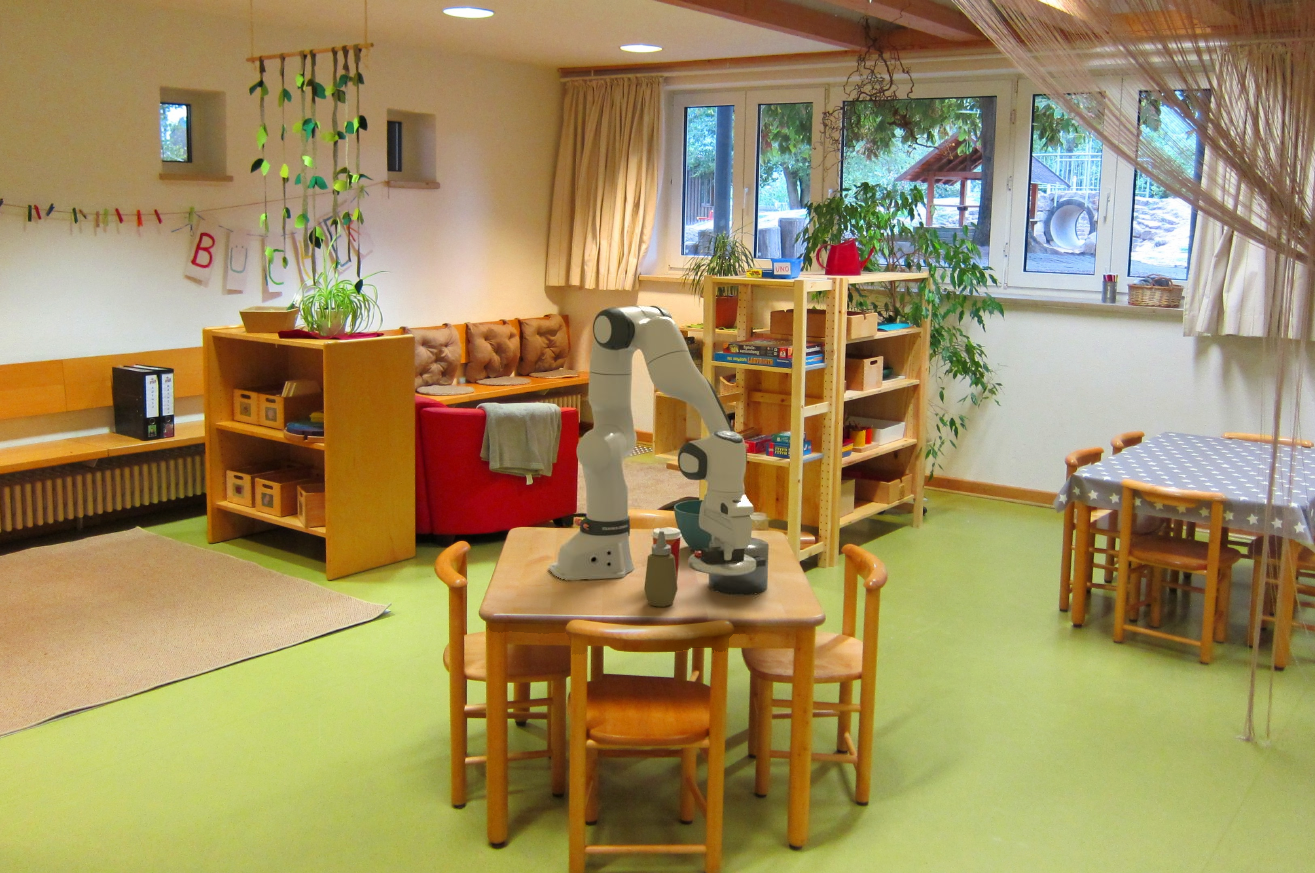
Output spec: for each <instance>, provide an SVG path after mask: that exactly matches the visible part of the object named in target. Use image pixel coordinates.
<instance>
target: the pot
mask: <svg viewBox="0 0 1315 873" xmlns="http://www.w3.org/2000/svg"><path fill="white" fill-rule="evenodd" d="M721 545H722V546H724V542H723V541H722V540H721ZM710 547H714V546H713V542H712V541H710V543H709V548H710ZM769 549H770V546H769V543H768V542H767V541H766V540H762V539H760V538H757V537H756V538H755V537H751V542H750V545H749V546H748V548H745V549H744V554H745V555H748V556H750V557H752V558H753V559H755V561H756V569H755V570H754V571H752V572H750V573H747V574H743V575H734V576H721V575H711V574H708V587H709V589H710V590H712V589H713V590H712V591H714V592H716V591H717V593H719V592H720V593H721V594H723V595H732V596H751V595H750V594H752V595H756V594H755V593H757V594H760V592H761V593H763V592H765V591H766V590H767V589H768V583H769V581H768V580H769V579H768V578H769V576H768V575H769Z"/></svg>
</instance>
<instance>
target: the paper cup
mask: <svg viewBox="0 0 1315 873" xmlns="http://www.w3.org/2000/svg"><path fill="white" fill-rule="evenodd" d="M659 531H664V534H665V539H666V544H667V545H670V546H671V553H670V554H672V555H673V556H674V557H675V566H676V577H677V579H678V577H679V576H678V575H679V564H680V562H679V561H680V549H681V538H683V537H682V535H681V534H680V530H679V529H678V527H677V528H676V527H667V526H666V527H659V528H658V527H656V528H654V529H653V532H652V534H651V537H652V544H653V545H655V544H656V543H657V539H658V534H659ZM653 545H652V546H653Z"/></svg>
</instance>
